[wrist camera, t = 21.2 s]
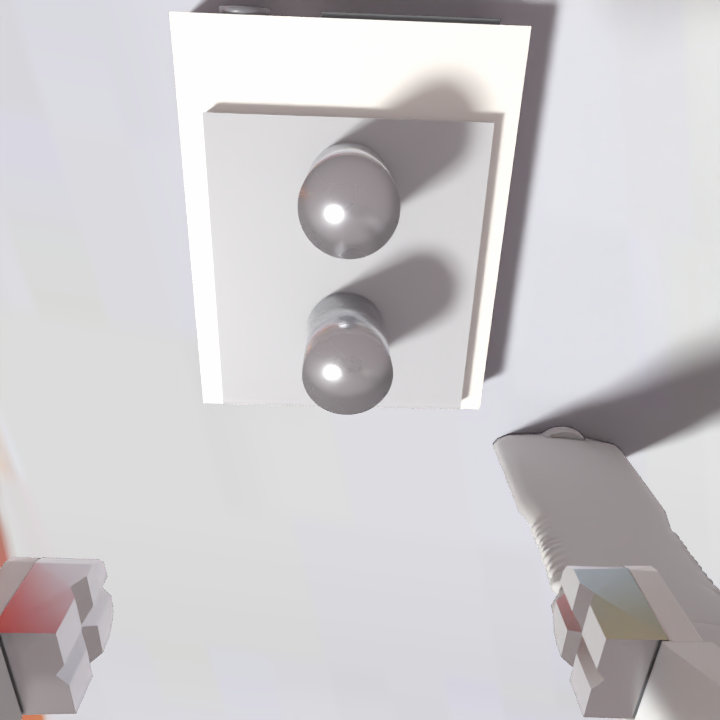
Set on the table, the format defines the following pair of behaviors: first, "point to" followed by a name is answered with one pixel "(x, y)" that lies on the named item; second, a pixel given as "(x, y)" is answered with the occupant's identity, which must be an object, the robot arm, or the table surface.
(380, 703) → the table surface
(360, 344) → the cylinder
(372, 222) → the cylinder
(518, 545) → the table surface
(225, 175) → the white rimmed tray
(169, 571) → the table surface
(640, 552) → the tall pale column
